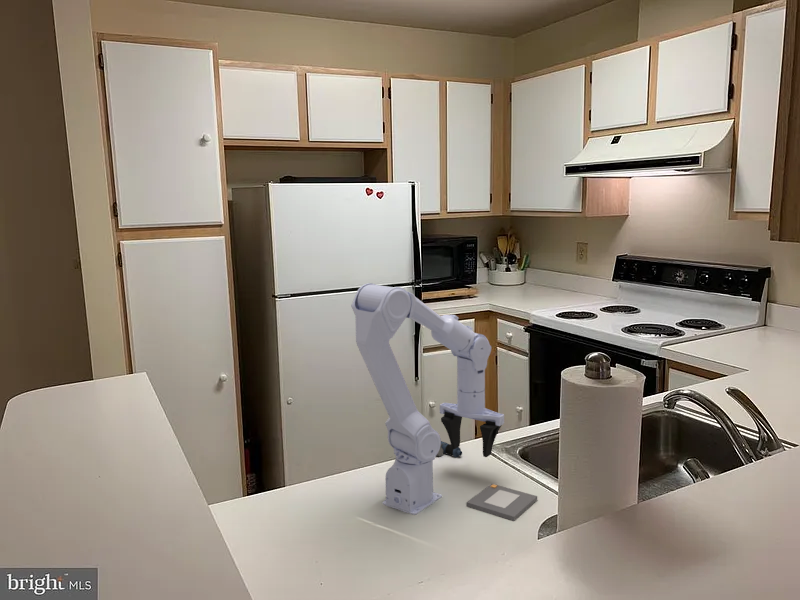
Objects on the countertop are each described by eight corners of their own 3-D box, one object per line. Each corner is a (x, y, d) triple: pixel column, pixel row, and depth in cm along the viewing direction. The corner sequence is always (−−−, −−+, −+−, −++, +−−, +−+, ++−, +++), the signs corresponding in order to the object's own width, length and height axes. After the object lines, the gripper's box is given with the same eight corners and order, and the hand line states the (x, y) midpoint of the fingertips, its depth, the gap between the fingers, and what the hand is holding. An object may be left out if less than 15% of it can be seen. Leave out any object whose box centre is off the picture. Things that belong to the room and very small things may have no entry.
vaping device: (426, 444, 151) (464, 457, 143) (411, 450, 147) (449, 463, 139) (425, 433, 151) (464, 446, 142) (410, 439, 147) (449, 452, 139)
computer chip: (513, 520, 113) (513, 515, 113) (466, 506, 119) (466, 501, 119) (537, 500, 121) (537, 495, 121) (491, 487, 127) (491, 482, 127)
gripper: (511, 389, 128) (511, 452, 130) (451, 379, 137) (452, 438, 139) (495, 398, 122) (494, 464, 124) (433, 387, 131) (434, 448, 133)
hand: (471, 451), depth 131 cm, fingers open, 7 cm apart
